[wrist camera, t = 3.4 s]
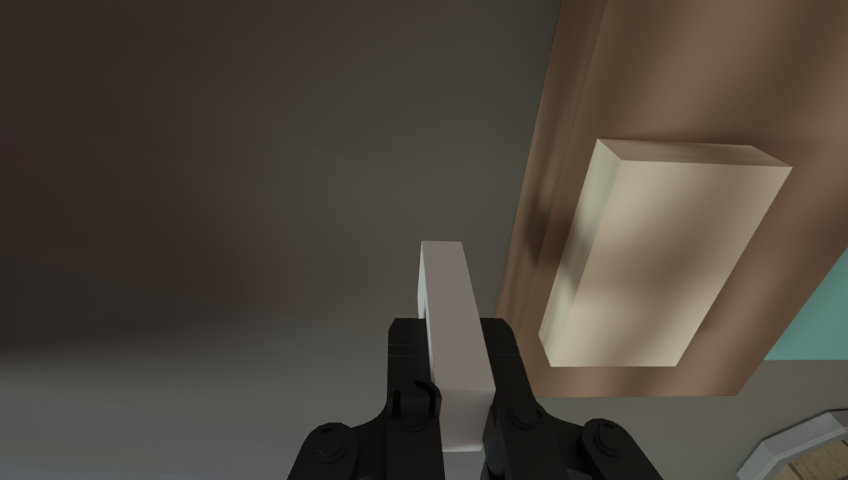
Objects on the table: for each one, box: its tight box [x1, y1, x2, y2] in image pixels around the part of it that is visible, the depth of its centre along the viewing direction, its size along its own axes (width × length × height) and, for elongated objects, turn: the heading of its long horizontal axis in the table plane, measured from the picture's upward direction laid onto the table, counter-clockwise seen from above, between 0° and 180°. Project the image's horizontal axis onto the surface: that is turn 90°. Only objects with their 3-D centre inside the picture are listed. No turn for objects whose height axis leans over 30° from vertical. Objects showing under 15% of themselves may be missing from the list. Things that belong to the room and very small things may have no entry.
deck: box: [494, 0, 848, 398], centre depth 20 cm, size 14×20×4 cm
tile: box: [539, 139, 793, 367], centre depth 18 cm, size 6×10×2 cm, turn 176°
